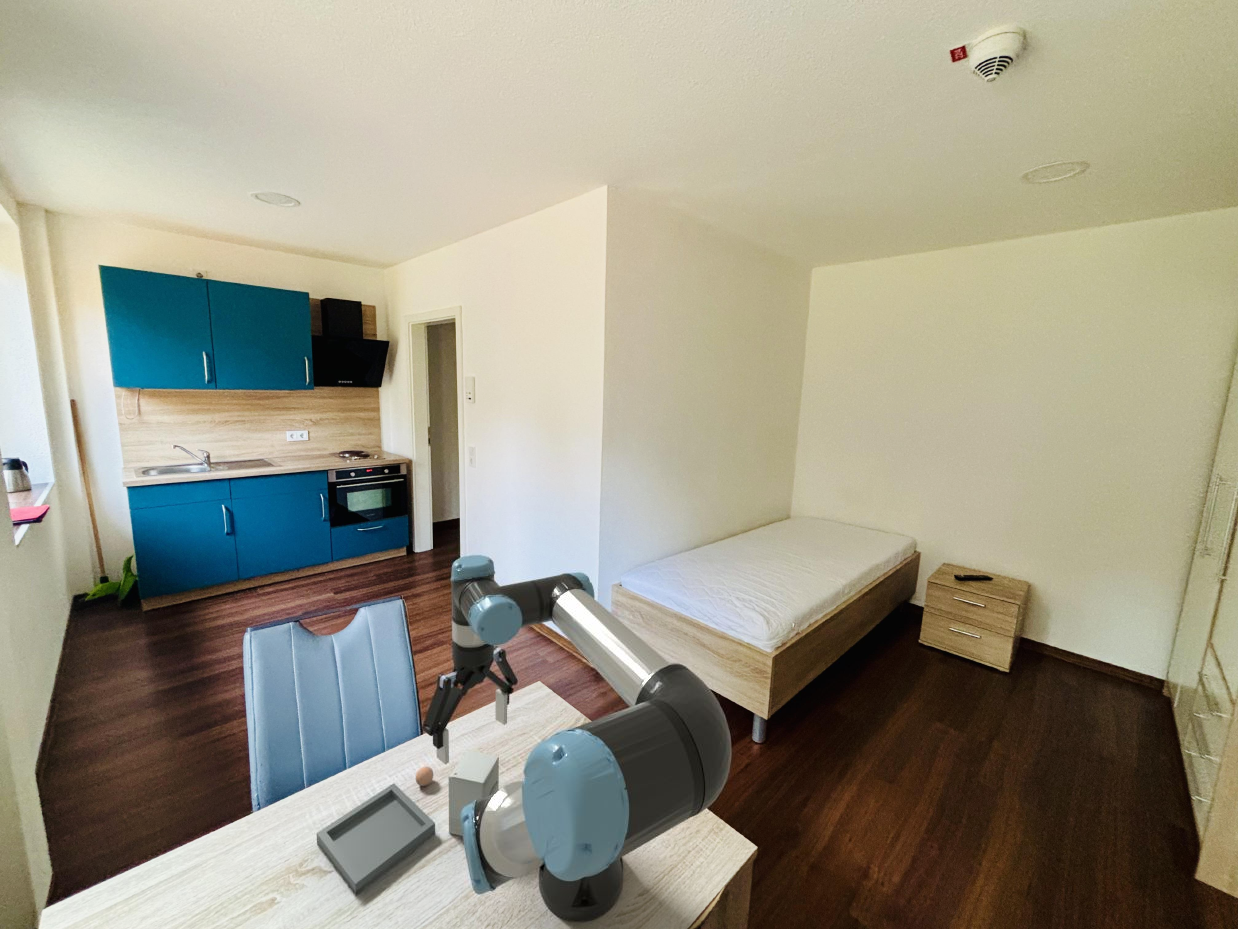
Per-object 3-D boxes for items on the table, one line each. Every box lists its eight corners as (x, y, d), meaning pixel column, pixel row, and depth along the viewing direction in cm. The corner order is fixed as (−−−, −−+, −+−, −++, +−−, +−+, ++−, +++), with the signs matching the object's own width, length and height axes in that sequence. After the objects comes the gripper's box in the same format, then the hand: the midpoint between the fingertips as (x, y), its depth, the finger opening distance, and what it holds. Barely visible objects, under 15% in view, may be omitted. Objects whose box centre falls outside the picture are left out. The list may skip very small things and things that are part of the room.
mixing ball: (436, 782, 107) (436, 768, 106) (421, 793, 104) (421, 778, 103) (427, 774, 109) (427, 760, 108) (412, 784, 106) (412, 769, 106)
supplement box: (482, 842, 94) (482, 784, 92) (447, 833, 95) (446, 776, 93) (499, 810, 101) (500, 755, 99) (466, 802, 102) (466, 748, 100)
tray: (435, 834, 95) (435, 823, 94) (355, 896, 83) (355, 884, 82) (394, 793, 104) (393, 783, 103) (317, 844, 92) (316, 833, 91)
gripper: (511, 609, 104) (510, 700, 107) (398, 658, 84) (402, 768, 87) (536, 620, 99) (534, 714, 103) (423, 675, 79) (426, 790, 83)
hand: (473, 739), depth 95 cm, fingers open, 13 cm apart
